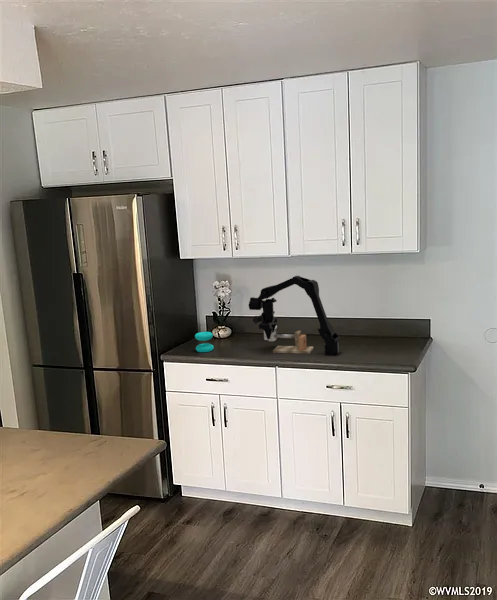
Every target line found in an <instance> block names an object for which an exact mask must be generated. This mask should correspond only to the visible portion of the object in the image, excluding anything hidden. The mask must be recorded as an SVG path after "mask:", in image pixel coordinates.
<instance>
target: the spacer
mask: <svg viewBox="0 0 497 600" xmlns="http://www.w3.org/2000/svg"><path fill="white" fill-rule="evenodd" d="M306 347H308V346H307V334H301V336H300V337H299V350H304V349H305V348H306Z"/></svg>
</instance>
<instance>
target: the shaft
mask: <svg viewBox="0 0 497 600" xmlns="http://www.w3.org/2000/svg"><path fill="white" fill-rule="evenodd" d="M276 338H277V339H295V333H294V334H291V333H288V334H287V333H285V334H284V333H281V334H279V333H278V334H276V331H272V332H271V336H270V339H269V340H268V342H275V341H277V339H276Z"/></svg>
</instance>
